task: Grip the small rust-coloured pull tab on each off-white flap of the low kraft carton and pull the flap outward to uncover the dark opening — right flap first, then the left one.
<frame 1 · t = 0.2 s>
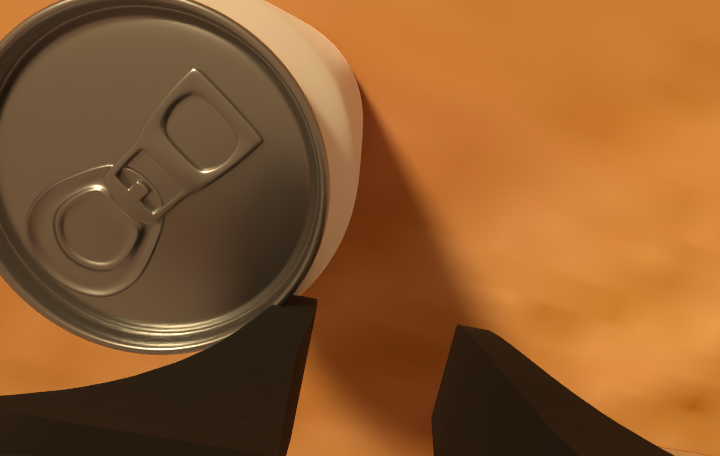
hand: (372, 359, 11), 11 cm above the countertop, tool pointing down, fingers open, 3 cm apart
can: (268, 113, 21), on the countertop, touching gripper
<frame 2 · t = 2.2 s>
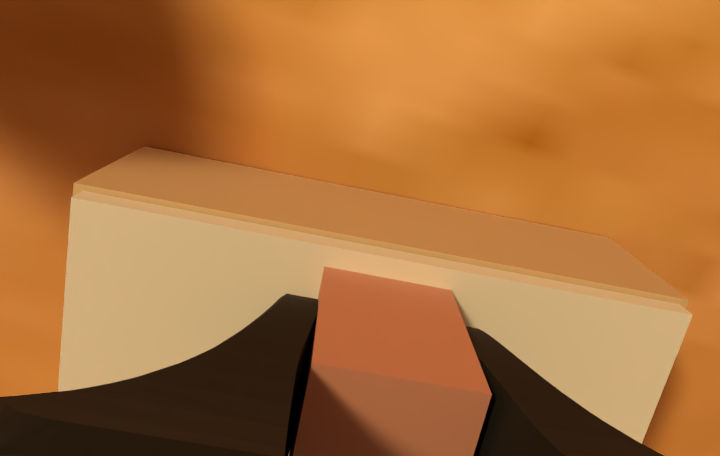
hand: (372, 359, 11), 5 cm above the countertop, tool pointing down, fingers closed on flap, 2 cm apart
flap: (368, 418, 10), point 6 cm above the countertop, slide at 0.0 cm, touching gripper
carton: (344, 365, 17), on the countertop
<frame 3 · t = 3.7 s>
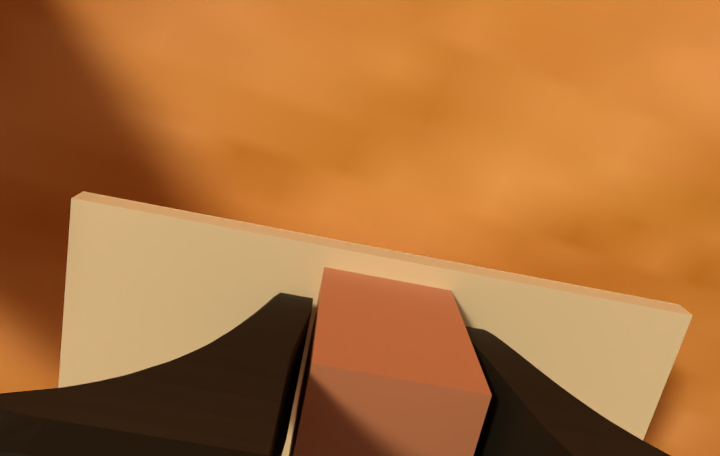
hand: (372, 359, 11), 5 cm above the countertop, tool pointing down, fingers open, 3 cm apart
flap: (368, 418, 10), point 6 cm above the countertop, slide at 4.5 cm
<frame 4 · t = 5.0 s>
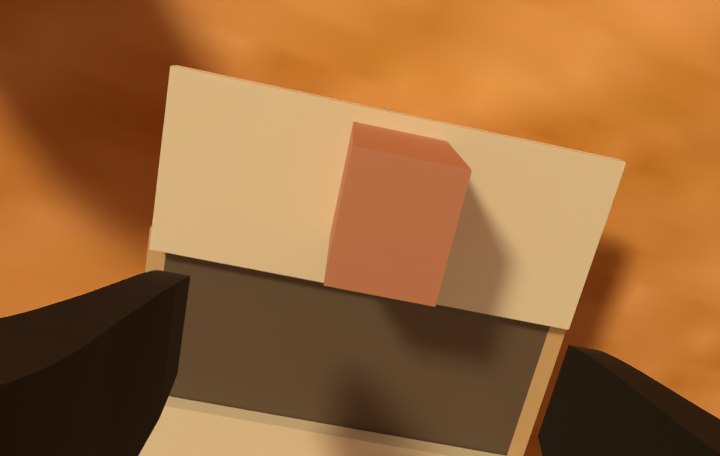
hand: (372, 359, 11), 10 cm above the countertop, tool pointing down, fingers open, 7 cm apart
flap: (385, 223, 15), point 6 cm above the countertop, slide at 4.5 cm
carton: (336, 355, 22), on the countertop
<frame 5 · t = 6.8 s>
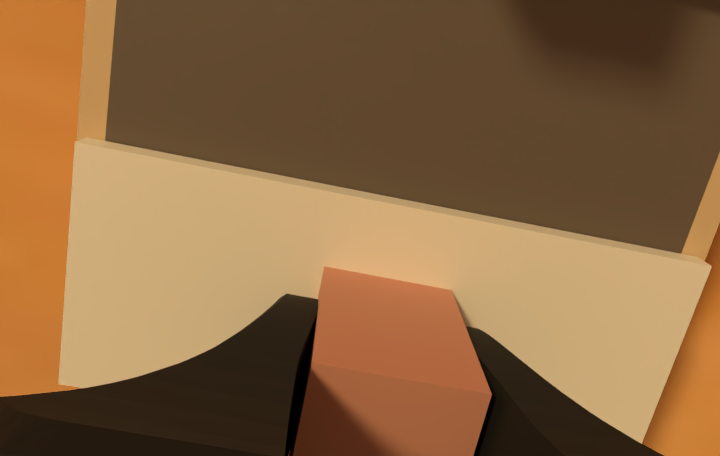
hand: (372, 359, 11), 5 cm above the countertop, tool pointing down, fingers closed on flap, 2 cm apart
carton: (391, 154, 15), on the countertop
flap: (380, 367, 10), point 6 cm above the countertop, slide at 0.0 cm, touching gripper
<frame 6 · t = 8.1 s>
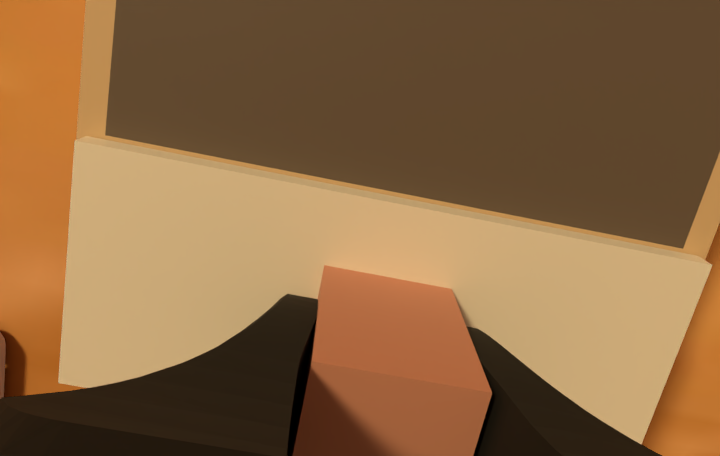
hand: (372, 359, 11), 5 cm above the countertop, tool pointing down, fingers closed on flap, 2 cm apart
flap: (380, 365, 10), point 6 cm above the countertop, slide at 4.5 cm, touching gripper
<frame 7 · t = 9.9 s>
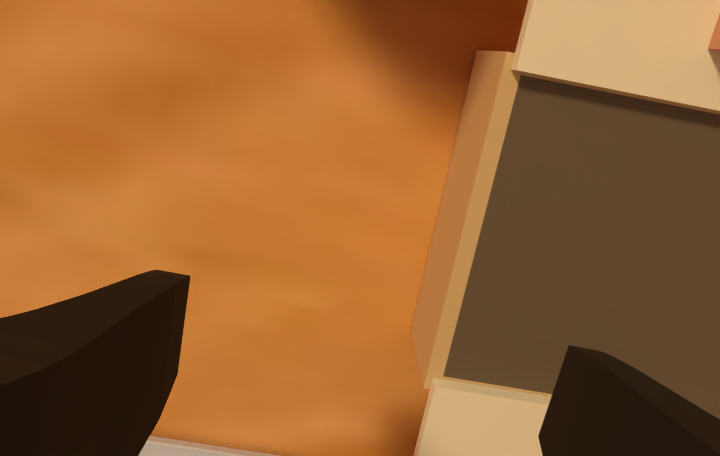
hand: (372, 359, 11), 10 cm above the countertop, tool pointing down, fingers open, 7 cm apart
carton: (608, 229, 22), on the countertop
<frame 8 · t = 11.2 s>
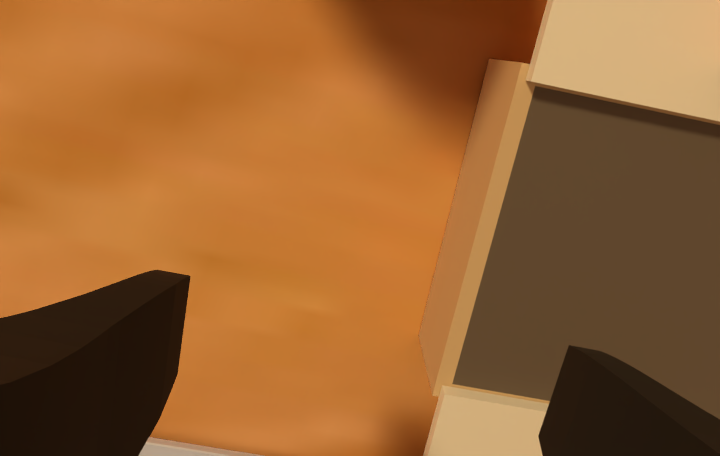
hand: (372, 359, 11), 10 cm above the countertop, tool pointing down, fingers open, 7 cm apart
carton: (617, 238, 22), on the countertop
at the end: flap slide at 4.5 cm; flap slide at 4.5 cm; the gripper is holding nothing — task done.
